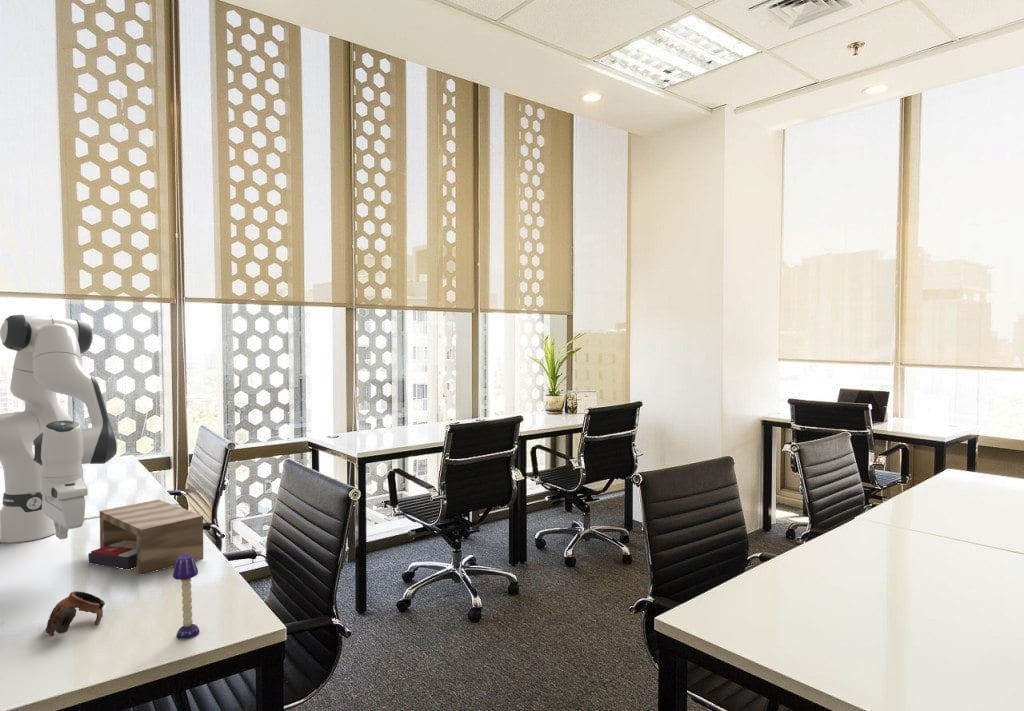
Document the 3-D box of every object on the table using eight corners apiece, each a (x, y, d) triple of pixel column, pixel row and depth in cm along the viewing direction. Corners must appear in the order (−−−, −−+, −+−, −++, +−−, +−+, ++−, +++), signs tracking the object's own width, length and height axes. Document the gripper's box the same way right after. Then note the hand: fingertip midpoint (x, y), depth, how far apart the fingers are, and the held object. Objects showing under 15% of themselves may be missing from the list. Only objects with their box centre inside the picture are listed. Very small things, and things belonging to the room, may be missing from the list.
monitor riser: (100, 552, 177) (99, 510, 176) (159, 537, 189) (158, 499, 189) (141, 575, 160) (141, 529, 159) (203, 557, 172) (203, 515, 172)
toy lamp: (193, 640, 126) (192, 560, 125) (169, 640, 125) (168, 560, 125) (202, 629, 131) (202, 551, 130) (180, 629, 130) (179, 552, 130)
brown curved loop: (52, 623, 134) (75, 586, 137) (94, 639, 135) (116, 602, 138) (25, 634, 123) (51, 593, 125) (71, 652, 124) (96, 611, 127)
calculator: (124, 538, 178) (163, 542, 174) (125, 553, 178) (163, 557, 174) (87, 551, 168) (127, 554, 163) (88, 566, 168) (128, 570, 163)
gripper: (34, 479, 161) (34, 531, 162) (60, 494, 149) (59, 550, 149) (63, 475, 166) (62, 525, 167) (90, 490, 154) (89, 544, 154)
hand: (61, 537), depth 158 cm, fingers closed
